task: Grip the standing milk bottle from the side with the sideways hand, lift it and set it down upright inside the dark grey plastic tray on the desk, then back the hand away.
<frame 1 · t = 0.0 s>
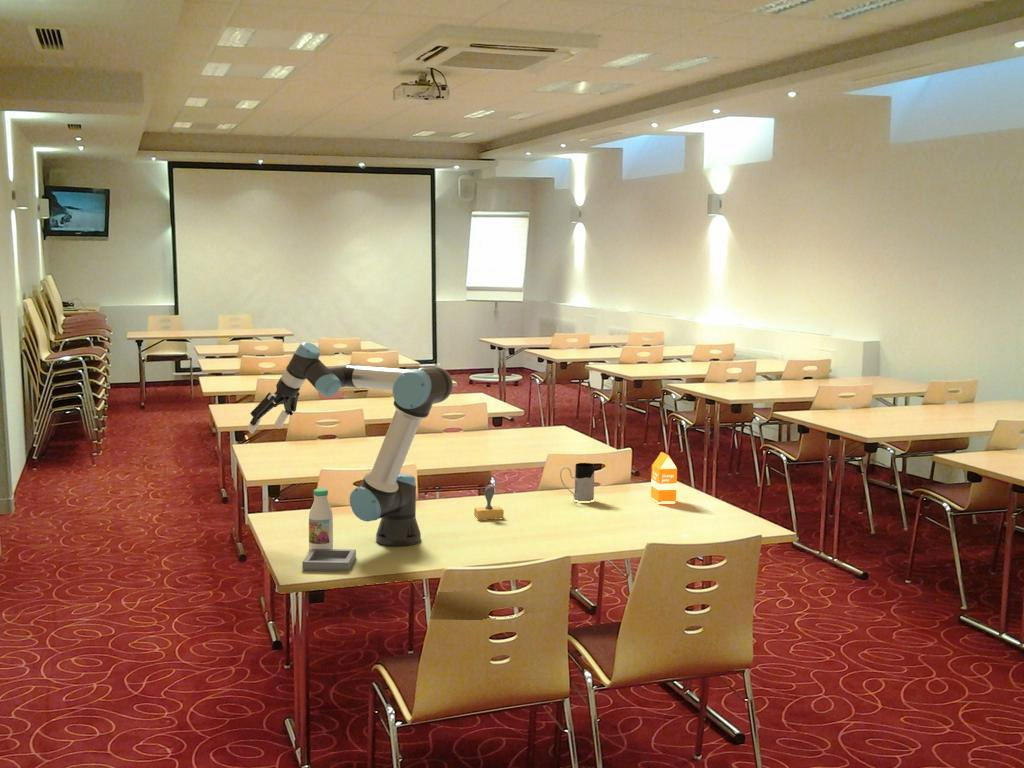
hand: (263, 428, 332), 36 cm above the table, tool tilted 35°, fingers open, 13 cm apart
orange juice: (663, 502, 387), on the table
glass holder: (577, 501, 386), on the table
rubber stamp: (488, 518, 357), on the table
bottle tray: (329, 564, 298), on the table
milk bottle: (321, 549, 314), on the table
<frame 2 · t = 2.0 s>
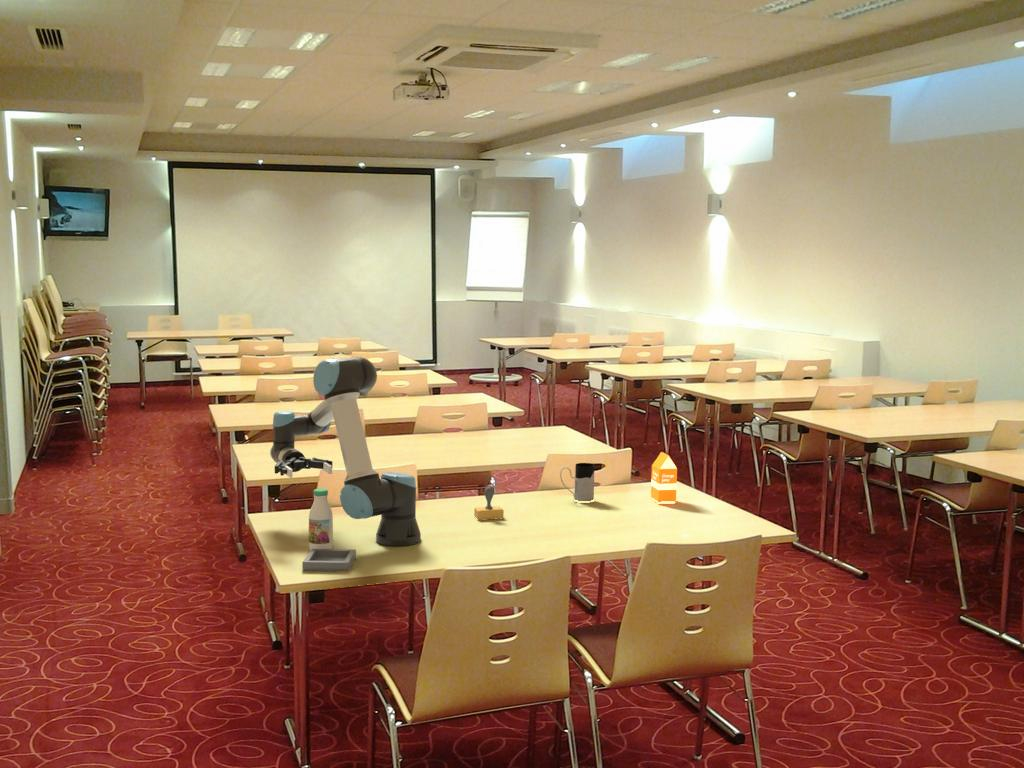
hand: (311, 471, 319), 24 cm above the table, tool horizontal, fingers open, 13 cm apart
nothing on the table moved.
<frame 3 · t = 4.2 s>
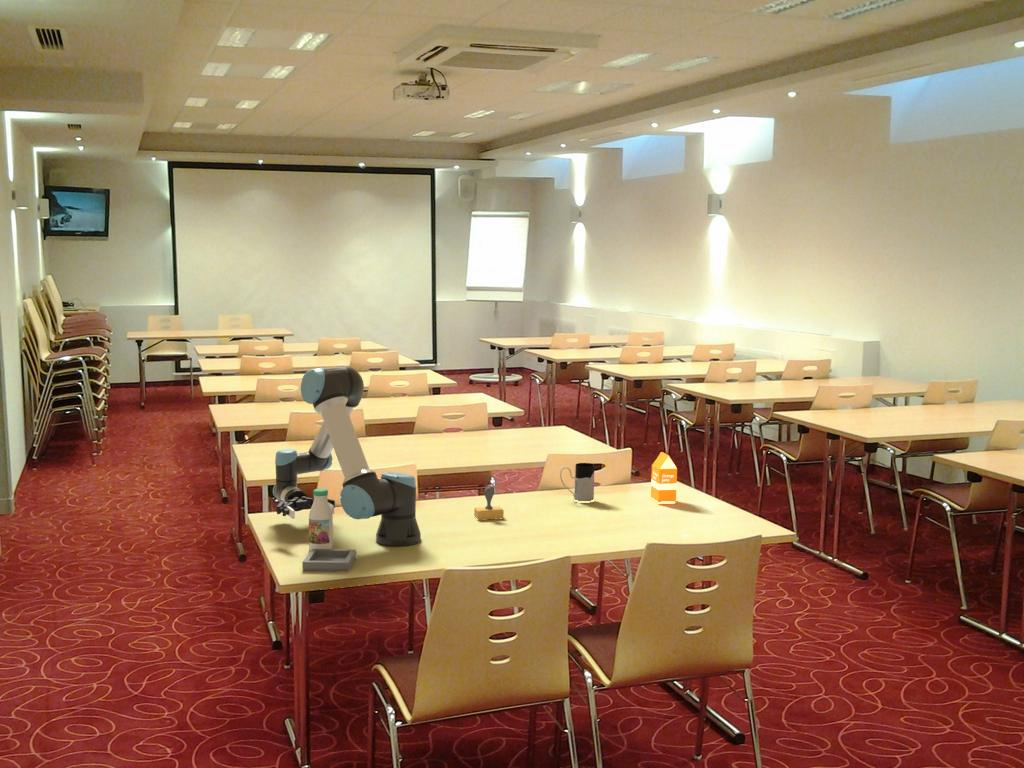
hand: (313, 512, 318), 11 cm above the table, tool horizontal, fingers open, 13 cm apart
nothing on the table moved.
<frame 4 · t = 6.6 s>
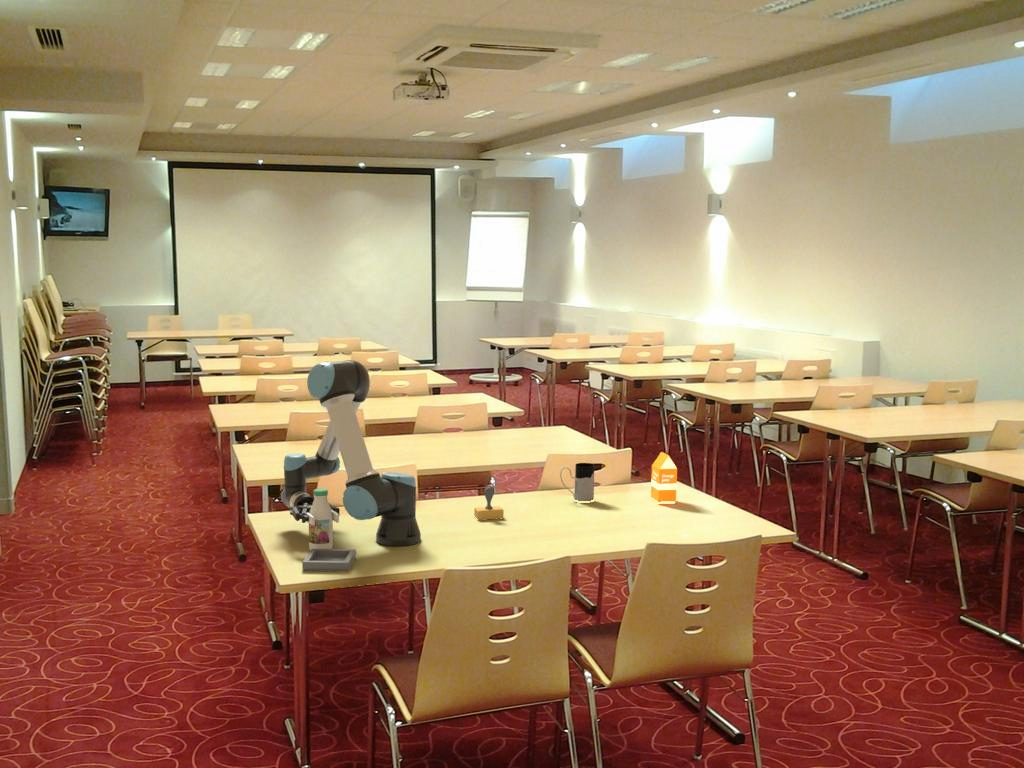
hand: (325, 519, 308), 11 cm above the table, tool horizontal, fingers closed on milk bottle, 7 cm apart
milk bottle: (321, 549, 314), on the table, touching gripper
everything else where it was.
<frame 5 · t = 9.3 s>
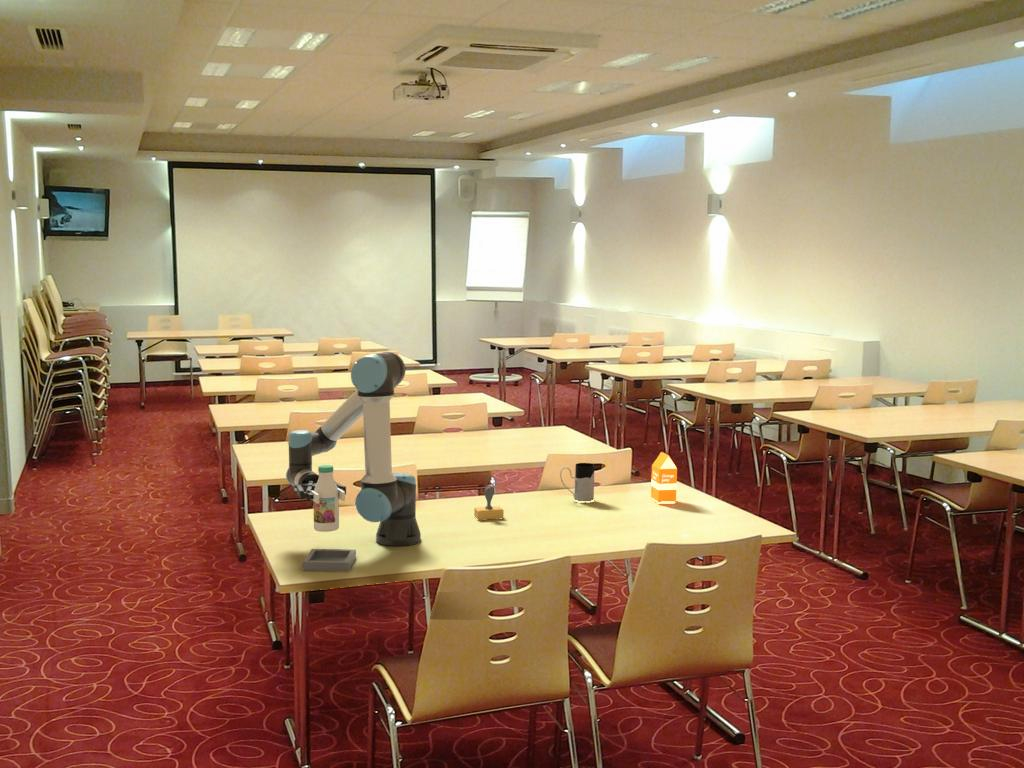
hand: (331, 497, 292), 22 cm above the table, tool horizontal, fingers closed on milk bottle, 7 cm apart
milk bottle: (326, 529, 298), point 11 cm above the table, touching gripper
everything else where it was.
when the fingers open (13 cm above the table, at t = 11.9 s): milk bottle drops 1 cm, resting on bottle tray.
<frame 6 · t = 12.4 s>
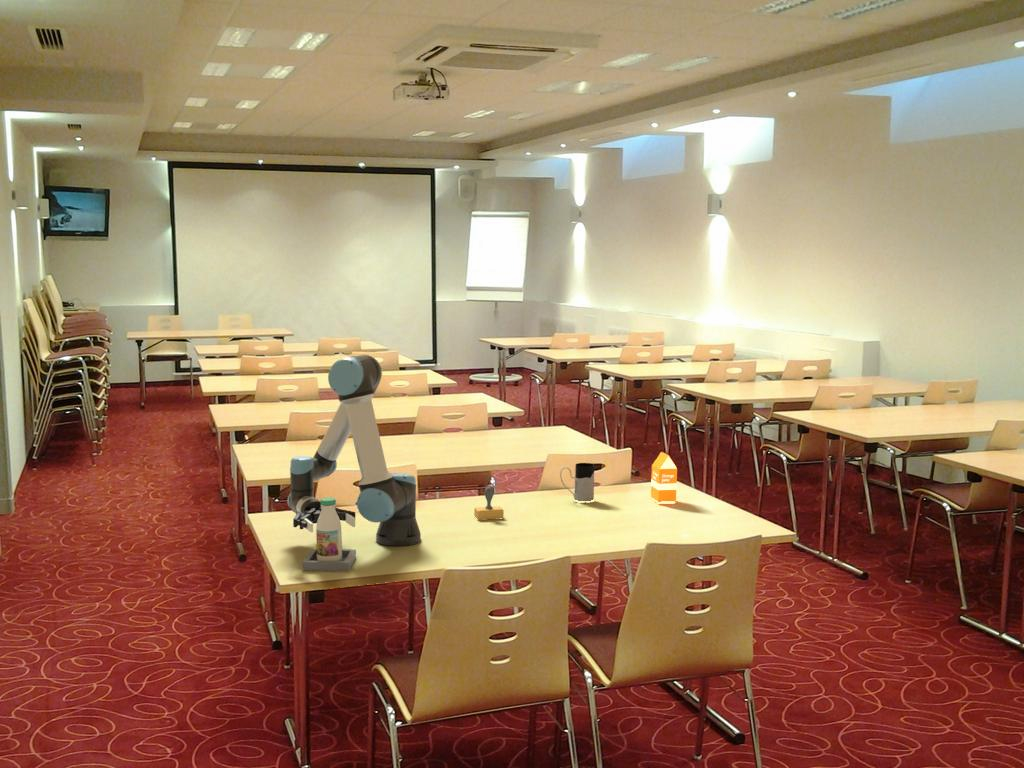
hand: (333, 525, 293), 13 cm above the table, tool horizontal, fingers open, 13 cm apart
milk bottle: (329, 562, 298), point 1 cm above the table, touching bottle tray
everything else where it was.
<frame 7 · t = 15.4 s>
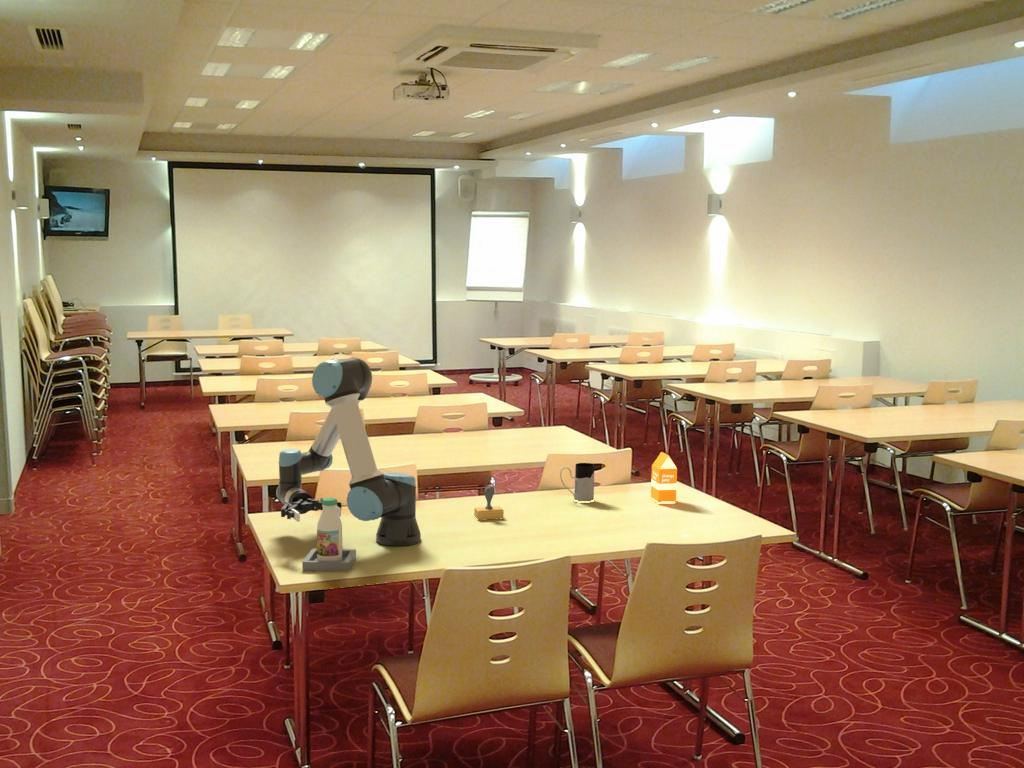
hand: (319, 515, 304), 13 cm above the table, tool horizontal, fingers open, 13 cm apart
nothing on the table moved.
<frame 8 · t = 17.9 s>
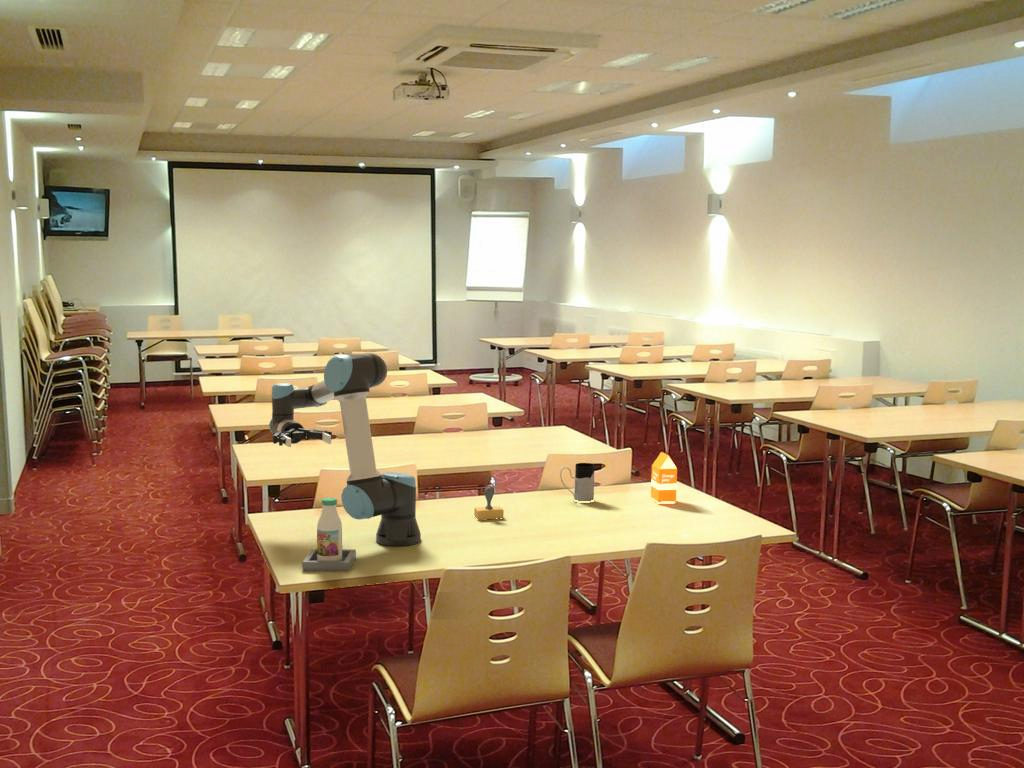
hand: (310, 441, 315), 35 cm above the table, tool horizontal, fingers open, 13 cm apart
nothing on the table moved.
at the end: milk bottle 0.1 cm off-centre on the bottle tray, point 0.6 cm above the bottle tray's base; milk bottle tilted 0°; the gripper is holding nothing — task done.
